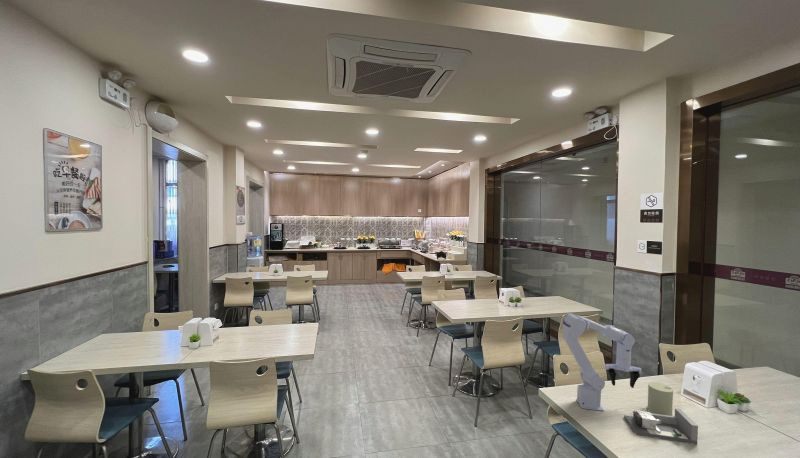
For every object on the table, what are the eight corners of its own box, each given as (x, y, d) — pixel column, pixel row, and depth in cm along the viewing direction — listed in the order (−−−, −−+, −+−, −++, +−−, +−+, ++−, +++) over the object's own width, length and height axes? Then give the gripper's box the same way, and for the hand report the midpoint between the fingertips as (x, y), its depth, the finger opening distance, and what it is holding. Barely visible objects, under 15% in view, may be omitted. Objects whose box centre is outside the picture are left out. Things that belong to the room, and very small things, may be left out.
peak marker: (677, 436, 132) (677, 433, 132) (673, 431, 135) (673, 428, 135) (681, 436, 132) (681, 434, 132) (676, 431, 135) (676, 429, 135)
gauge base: (636, 434, 136) (636, 417, 136) (624, 417, 148) (624, 401, 147) (697, 444, 131) (698, 425, 131) (679, 425, 142) (680, 409, 142)
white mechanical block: (643, 432, 135) (643, 422, 135) (633, 419, 144) (633, 409, 144) (669, 436, 133) (669, 426, 132) (657, 422, 142) (657, 413, 142)
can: (677, 418, 147) (678, 392, 147) (653, 416, 149) (654, 389, 149) (665, 407, 156) (666, 382, 156) (643, 404, 158) (644, 379, 158)
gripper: (609, 358, 155) (608, 387, 155) (645, 362, 151) (644, 392, 152) (604, 353, 161) (603, 380, 162) (638, 356, 158) (637, 384, 158)
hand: (622, 385), depth 157 cm, fingers open, 7 cm apart
